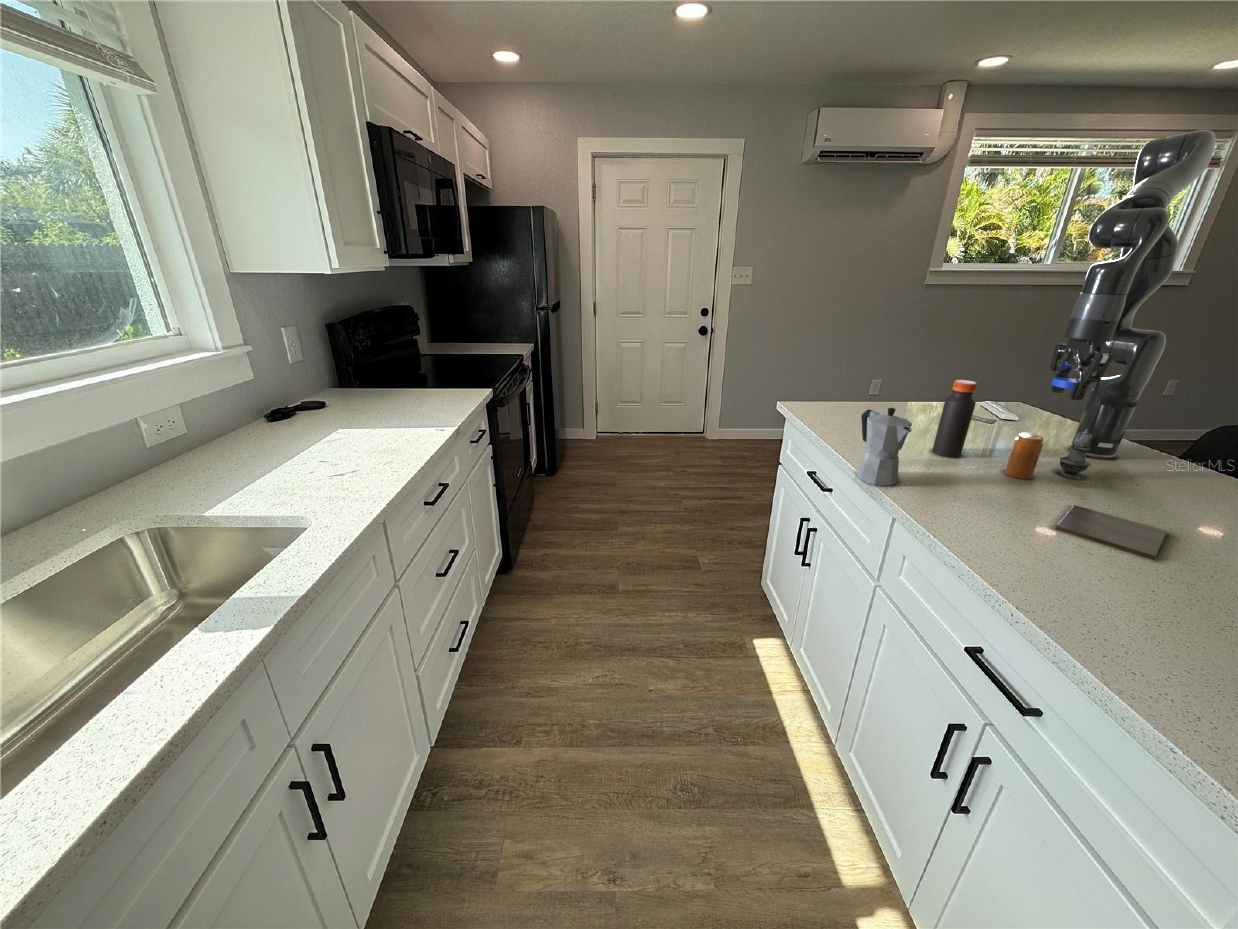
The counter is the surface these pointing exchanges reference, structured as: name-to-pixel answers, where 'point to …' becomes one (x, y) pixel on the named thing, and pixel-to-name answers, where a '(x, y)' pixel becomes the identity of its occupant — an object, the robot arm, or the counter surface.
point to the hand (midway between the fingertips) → (1065, 395)
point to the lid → (1064, 382)
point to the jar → (1024, 456)
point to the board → (1113, 531)
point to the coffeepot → (882, 446)
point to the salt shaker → (1076, 457)
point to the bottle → (955, 420)
